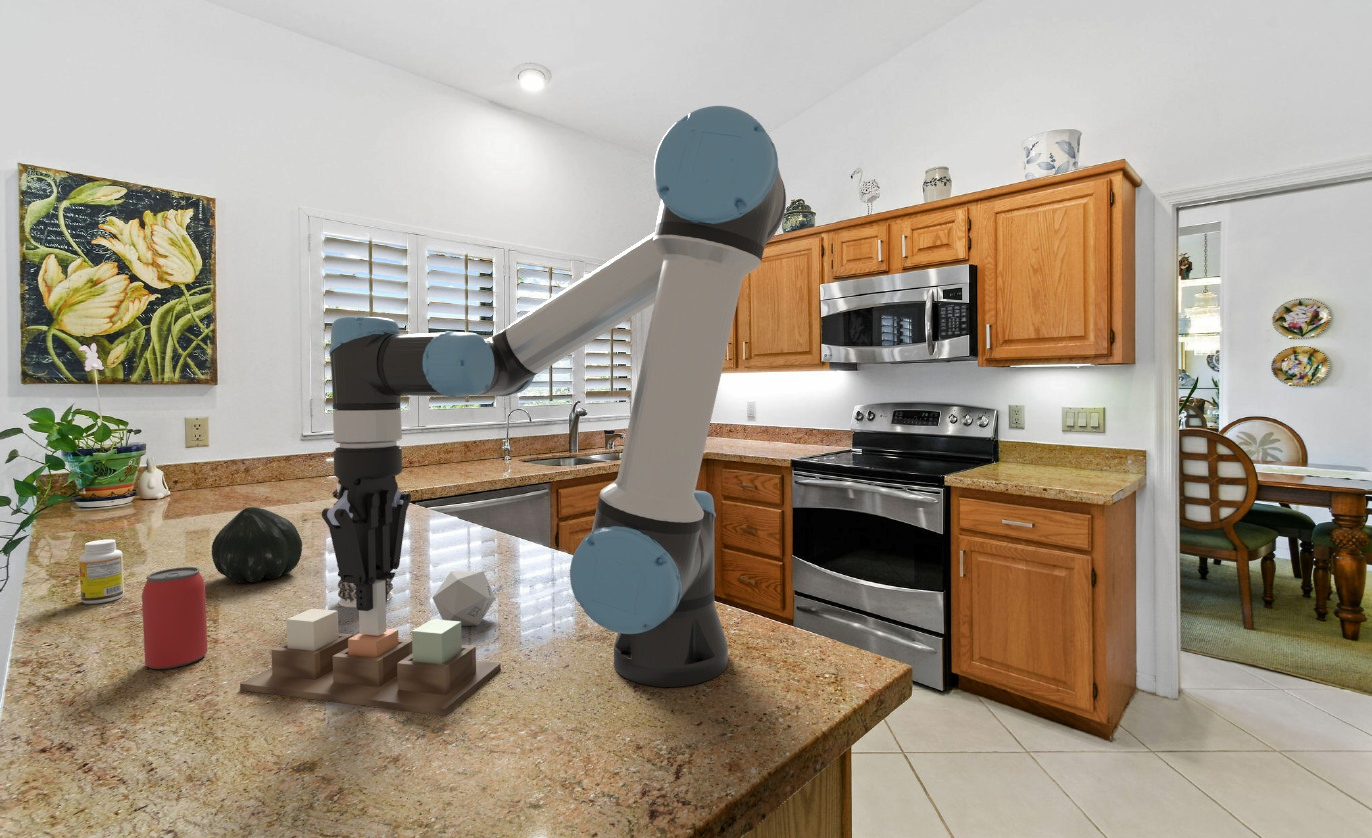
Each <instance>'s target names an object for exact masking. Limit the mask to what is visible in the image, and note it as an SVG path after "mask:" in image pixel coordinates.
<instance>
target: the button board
mask: <svg viewBox="0 0 1372 838" xmlns="http://www.w3.org/2000/svg"><path fill="white" fill-rule="evenodd" d="M338 634H339V639H337V640H335V641H333V642H331V643H329V644H327V645H325V646H323V647H321V648H319V649H317V650H315V651H310V650H300V649H291V648H287V642H285V643H283V644H280V645H277V646H276V647H274V648H272V649H271V651H270V652H271V668H269V669H267V670H264V671H262V672H260V673H258V674H256V675H254V676H252V677H250V678H248V679H246V680H244V681H242V682H240V683H239V690H240V691H247V692H253V693H259V694H270V695H276V696H284V697H294V698H301V699H310V700H317V701H325V702H333V703H341V704H349V705H356V706H363V705H366V706H365V707H371V708H380V709H387V710H388V709H389V710H394V711H395V710H398V711H403V712H404V711H406V712H412V713H420V714H428V715H435V716H442V717H445V716H448V714H450V713H451V712H452V711H454V710H455V708H456V707H458V706H459V705H461V703H463V702H464V701H465V700H466V699H467V698H469V696H471V695H472V694H473V693H474V692H476V691H477V690H478V689H479V688H480V687H482V686H483V685H484V684H485V683H486V682H487V681H488V680H490V679H491V678H492V677H493V676H495V675H496V674H498V672H499V671H500V670H501V668H502V667H501V664H502V663H500V662H493V661H491V662H490V661H483V660H482V661H481V660H477V648H476V645H475V646H474V645H465V644H462V652H460V653H459V654H458V655H456V656H455V657H453V658H452V659H451V660H449V661H448V662H446V663H445V664H443V665H442V664H433V663H423V662H414V661H413V654H412V639H407V638H406V639H404V638H398V639H399V645H398V646H396V647H394V648H393V649H391V650H389V651H387V652H386V653H384V654H382V655H381V656H379V657H377V658H376V657H367V656H357V655H348V639H349V638H351V637H353V636H354V634H352V633H343V632H342V633H341V632H338ZM372 706H373V707H372Z"/></svg>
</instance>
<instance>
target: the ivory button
mask: <svg viewBox="0 0 1372 838" xmlns="http://www.w3.org/2000/svg"><path fill="white" fill-rule="evenodd" d="M338 633H339V611H338V610H333V609H332V610H331V609H322V608H321V609H320V608H310V609H307V610H305V611H303V612H301V613H298V614H296V615H293V616H291V617H288V618H286V636H287V637H286V638H287V639H286V641H287V642H286V643H287V648H291V649H300V650H310V651H315V650H317V649H319V648H321V647H323V646H325V645H327V644H329V643H331V642H333V641H335V640H337V639H339V634H338Z"/></svg>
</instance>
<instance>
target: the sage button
mask: <svg viewBox="0 0 1372 838" xmlns="http://www.w3.org/2000/svg"><path fill="white" fill-rule="evenodd" d="M411 640H412V654H413V661H414V662H423V663H433V664H442V665H443V664H445V663H446V662H448V661H449V660H451V659H452V658H453V657H455V656H456V655H458V654H459V653H460V652H462V645H463V644H462V642H463V641H462V626H461V622H460V621H449V620H442V619H436V618H431V619H430V620H429V621H427V622H425V623H423V624H421V625H419V626H417V627H416V628H415V629H413V630H411Z"/></svg>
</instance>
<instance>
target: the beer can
mask: <svg viewBox="0 0 1372 838" xmlns="http://www.w3.org/2000/svg"><path fill="white" fill-rule="evenodd" d="M200 571H201V570H200V568H198V567H194V566H185V567H183V566H182V567H174V568H167V569H163V570H157V571H155V572H151V573H150V574H148V575H147V576H146V581H145V585H144V586H143V589H142V594H141V599H142V600H141V602H142V627H143V648H144V649H143V651H144V664H145V665H146V666H147V667H148V668H149V669H153V670H167V669H168V670H170V669H174V668H175V669H176V668H180V667H183V666H187V665H189V664H192V663H195V662H197V661H199V660H200V659H202V658H204V656H205V655H206V654H207V652H208V629H207V627H208V626H207V608H206V607H207V604H206V599H207V598H206V582H205V581H204V577H203V576H202V574H201V572H200Z"/></svg>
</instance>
